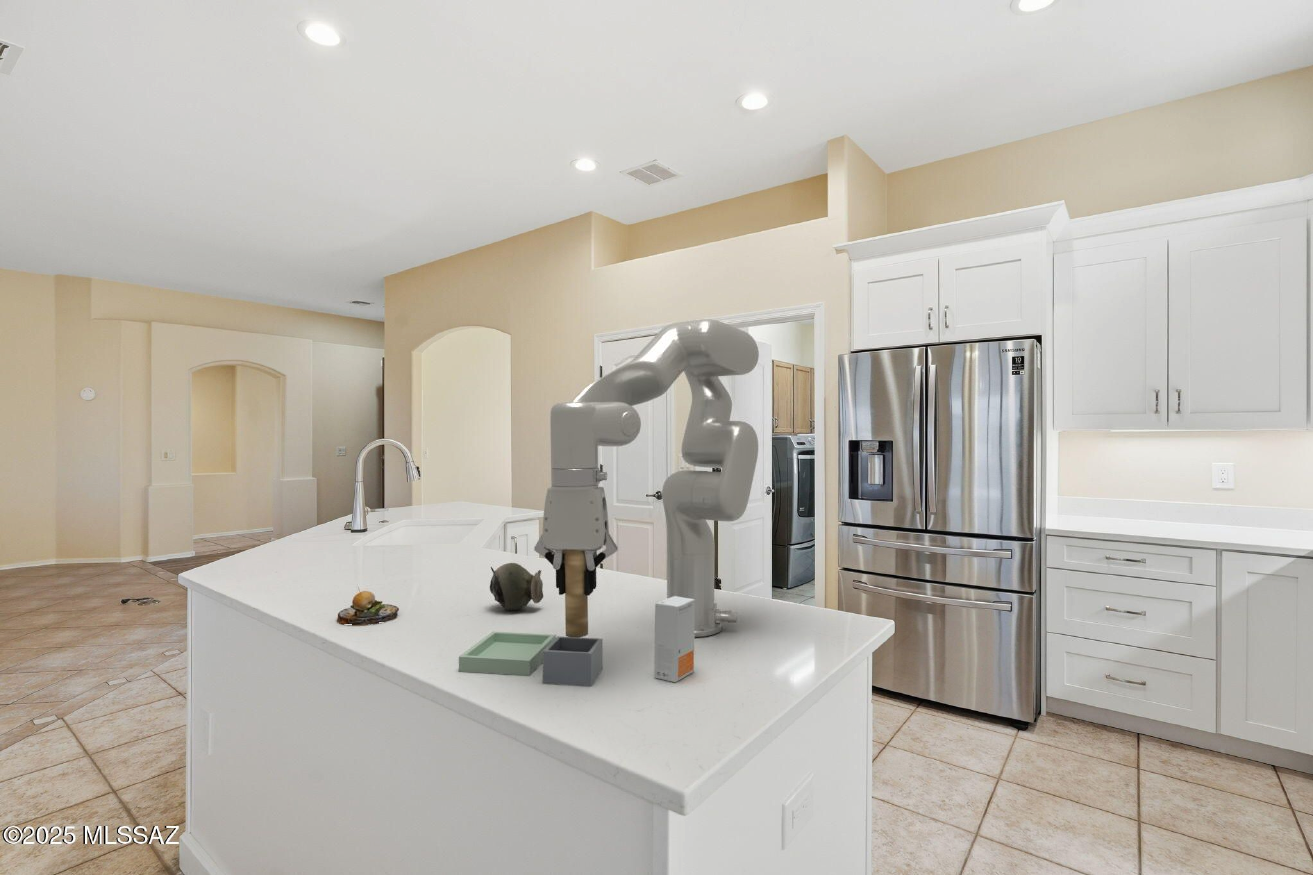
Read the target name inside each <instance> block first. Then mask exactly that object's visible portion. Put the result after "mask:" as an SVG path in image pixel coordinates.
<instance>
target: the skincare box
mask: <svg viewBox="0 0 1313 875" xmlns="http://www.w3.org/2000/svg"><path fill="white" fill-rule="evenodd" d="M654 610H655V611H654V612H655V613H654V661H653V662H654V663H653V664H654V670H653V671H654V673H653V674H654V675H653V676H654V678H655V679H659V680H664V681H667V682H672V683H678V682H679V681H680V680H682V679H683V678H685V677H687V676H689V675H690V674H692V673H694V672H695V637H694V632H695V599H690V598H683V597H678V596H673V597H671V598H667V597H666V598H665V599H663V600H661V601H658V602H655V606H654Z"/></svg>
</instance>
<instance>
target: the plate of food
mask: <svg viewBox="0 0 1313 875" xmlns="http://www.w3.org/2000/svg"><path fill="white" fill-rule="evenodd" d="M357 588H358V590H359V592H358V593H356V594H355V595H354V596H353V598H352V602H351V603H352V604H351V605H350V606H349V607H347V608H344V609H342V610H340V611H339V612H338V613H337V623H338V622H339V623H338V624H342V625H343V624H352V626H351V625H349V626H350V627H353V626H354V627H357V626H359V627H360V626H368V625H367V624H373V625H379V622H384V623H387V622H390V621H393V620H396V619H397V617H398V612H399V611H400V608H399V607H398V606H396V605H392V604H383V600H380V601H379V600H377V599H376V596H375V594H374V593H373V592H371V591H369V590H368V591H367V590H364V591H360V588H359V587H358V586H357Z"/></svg>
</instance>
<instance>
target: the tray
mask: <svg viewBox="0 0 1313 875" xmlns="http://www.w3.org/2000/svg"><path fill="white" fill-rule="evenodd" d="M556 637H557V634H548V633H528V632H527V633H525V632H511V631H510V632H508V631H492V632H490V633H489V634H488V635H485V637H484V638H482V639H481V640H479V641H478V642H476V643H475V644H474V645H473V646H471V647H470V648H468V649H467V650H465V652H463V653H461V654H460V655H459V656H458V672H463V673H477V674H478V673H481V674H482V673H483V674H496V675H497V674H498V675H515V676H531V675H532V674H533V673H534V671H536V669H538V667H539V666H540V665H541V664H543V650H544V649H545V648H546V647H547V646H548V645H549V644H550V643H551V642H552V641H553V640H554V639H555V638H556Z"/></svg>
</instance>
